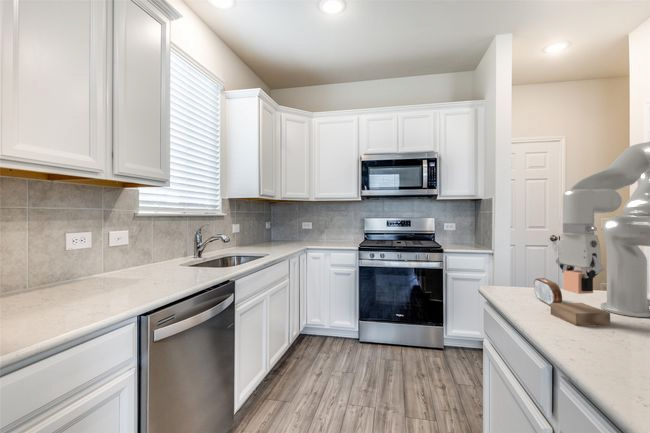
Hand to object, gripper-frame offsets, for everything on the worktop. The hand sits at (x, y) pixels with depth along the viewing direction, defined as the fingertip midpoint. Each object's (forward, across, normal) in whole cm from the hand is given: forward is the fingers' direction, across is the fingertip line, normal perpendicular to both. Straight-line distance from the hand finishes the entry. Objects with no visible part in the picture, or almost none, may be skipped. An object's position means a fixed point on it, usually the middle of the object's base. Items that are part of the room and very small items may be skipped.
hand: (578, 288), depth 94 cm
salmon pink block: (+1, 0, 0) cm, 1 cm away
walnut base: (+10, 0, 0) cm, 10 cm away
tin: (+10, +17, -5) cm, 20 cm away
